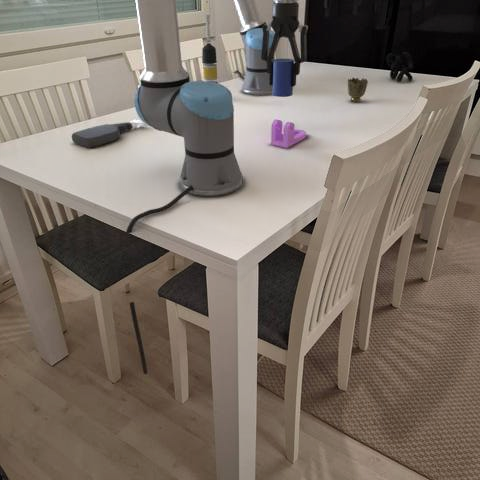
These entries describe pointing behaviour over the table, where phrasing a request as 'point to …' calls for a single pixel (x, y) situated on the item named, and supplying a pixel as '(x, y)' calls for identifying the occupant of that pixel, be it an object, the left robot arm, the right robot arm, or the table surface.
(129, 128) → the dark grey flat piece
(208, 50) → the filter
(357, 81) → the cup
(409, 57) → the squiggle
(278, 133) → the bracket
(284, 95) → the can
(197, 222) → the table surface
